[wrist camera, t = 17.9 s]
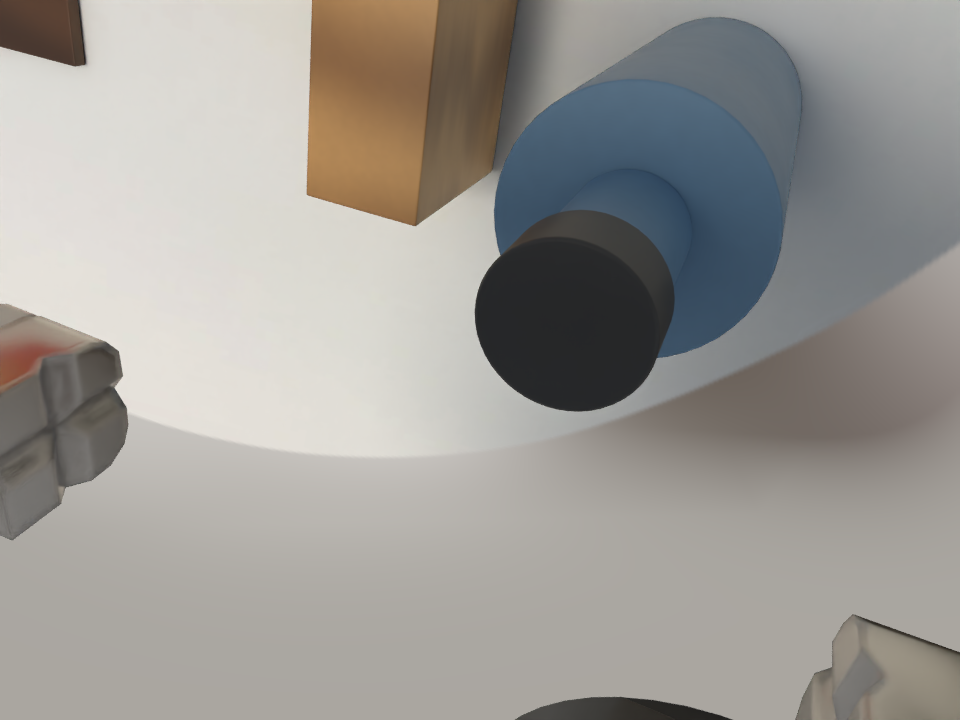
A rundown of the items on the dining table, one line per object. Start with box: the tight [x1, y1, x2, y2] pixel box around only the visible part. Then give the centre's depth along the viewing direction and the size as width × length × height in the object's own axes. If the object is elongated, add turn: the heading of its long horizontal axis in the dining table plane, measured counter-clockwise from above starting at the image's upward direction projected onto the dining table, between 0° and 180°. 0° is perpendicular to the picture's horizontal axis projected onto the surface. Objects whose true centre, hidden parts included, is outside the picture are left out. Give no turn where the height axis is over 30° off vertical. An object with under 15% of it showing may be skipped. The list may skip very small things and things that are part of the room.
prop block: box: [307, 0, 518, 226], centre depth 27 cm, size 8×4×7 cm, turn 171°
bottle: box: [475, 17, 802, 411], centre depth 20 cm, size 6×13×18 cm, turn 81°
